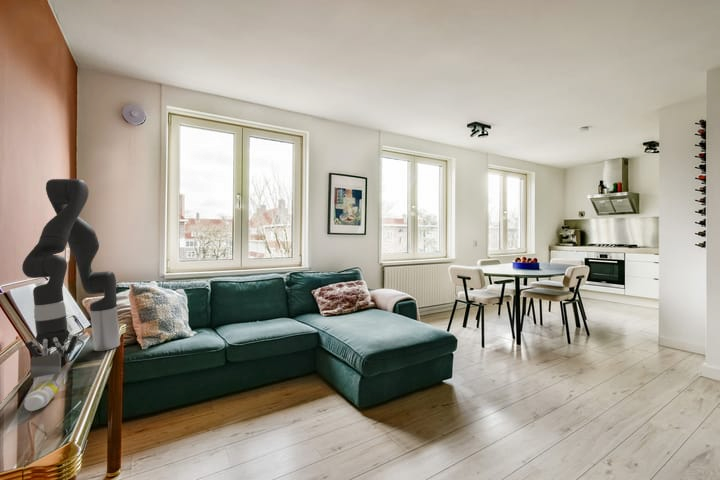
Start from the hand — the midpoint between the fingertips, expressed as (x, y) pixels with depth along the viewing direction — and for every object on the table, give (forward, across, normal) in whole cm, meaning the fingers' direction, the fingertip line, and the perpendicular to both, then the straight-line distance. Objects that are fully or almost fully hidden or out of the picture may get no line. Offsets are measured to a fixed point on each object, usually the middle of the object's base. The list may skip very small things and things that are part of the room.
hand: (56, 367), depth 111 cm
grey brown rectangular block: (+1, 0, +1) cm, 2 cm away
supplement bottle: (+4, 0, +7) cm, 8 cm away
